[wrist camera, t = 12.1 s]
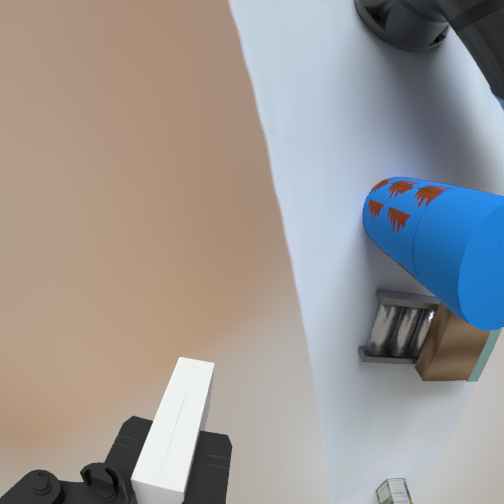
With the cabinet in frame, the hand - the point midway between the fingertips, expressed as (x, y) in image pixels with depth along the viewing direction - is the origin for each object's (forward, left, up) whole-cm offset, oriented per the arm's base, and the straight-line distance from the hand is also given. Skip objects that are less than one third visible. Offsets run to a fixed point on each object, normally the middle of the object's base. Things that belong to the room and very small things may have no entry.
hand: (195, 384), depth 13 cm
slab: (+11, +36, -29) cm, 48 cm away
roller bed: (+11, +31, -32) cm, 46 cm away
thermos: (-6, +21, -33) cm, 39 cm away
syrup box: (+58, +45, -33) cm, 80 cm away
